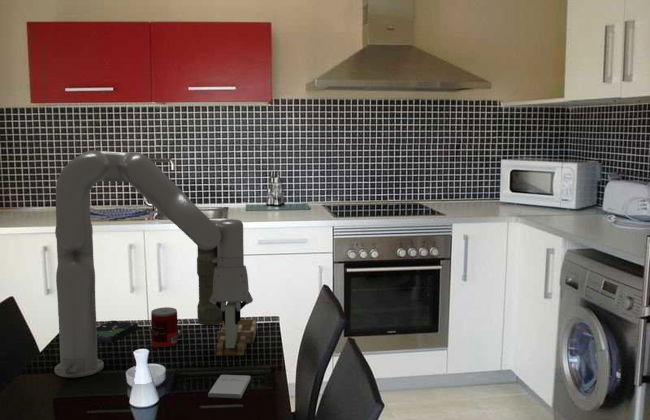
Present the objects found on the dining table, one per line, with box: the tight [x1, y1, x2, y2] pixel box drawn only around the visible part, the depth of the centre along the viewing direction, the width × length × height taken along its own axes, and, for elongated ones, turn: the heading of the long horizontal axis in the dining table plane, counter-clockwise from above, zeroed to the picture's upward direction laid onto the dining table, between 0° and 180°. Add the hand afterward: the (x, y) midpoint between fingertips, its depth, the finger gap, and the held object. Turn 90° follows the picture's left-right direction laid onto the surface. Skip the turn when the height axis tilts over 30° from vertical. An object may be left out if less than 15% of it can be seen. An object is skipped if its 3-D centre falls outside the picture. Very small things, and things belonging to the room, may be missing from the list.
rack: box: [216, 318, 258, 345], centre depth 204 cm, size 14×11×4 cm
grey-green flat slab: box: [225, 302, 237, 348], centre depth 190 cm, size 9×2×12 cm, turn 2°
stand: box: [215, 336, 247, 356], centre depth 191 cm, size 10×8×4 cm
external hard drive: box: [207, 374, 251, 399], centre depth 165 cm, size 2×8×12 cm
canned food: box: [150, 306, 179, 349], centre depth 196 cm, size 8×8×11 cm
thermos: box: [196, 246, 222, 326], centre depth 217 cm, size 9×12×35 cm
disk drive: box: [96, 320, 139, 344], centre depth 208 cm, size 10×3×15 cm
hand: (231, 322), depth 190 cm, fingers closed on grey-green flat slab, 2 cm apart
